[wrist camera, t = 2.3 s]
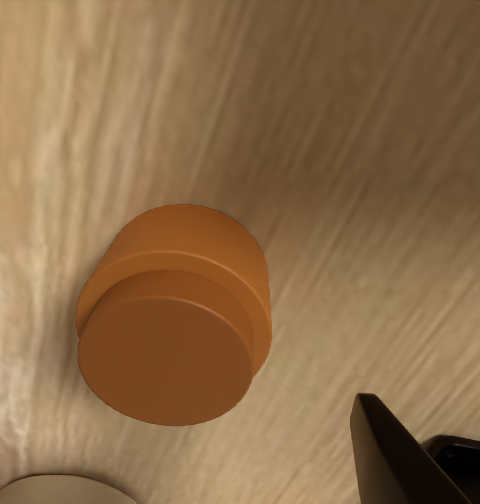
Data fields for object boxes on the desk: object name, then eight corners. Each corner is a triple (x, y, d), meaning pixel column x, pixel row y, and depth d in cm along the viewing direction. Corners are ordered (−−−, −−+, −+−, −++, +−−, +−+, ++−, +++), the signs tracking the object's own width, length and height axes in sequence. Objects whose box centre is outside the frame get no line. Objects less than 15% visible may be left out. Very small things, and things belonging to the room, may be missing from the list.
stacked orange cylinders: (245, 351, 15) (243, 453, 12) (102, 320, 15) (53, 418, 11) (289, 226, 13) (303, 308, 9) (117, 184, 12) (57, 252, 8)
